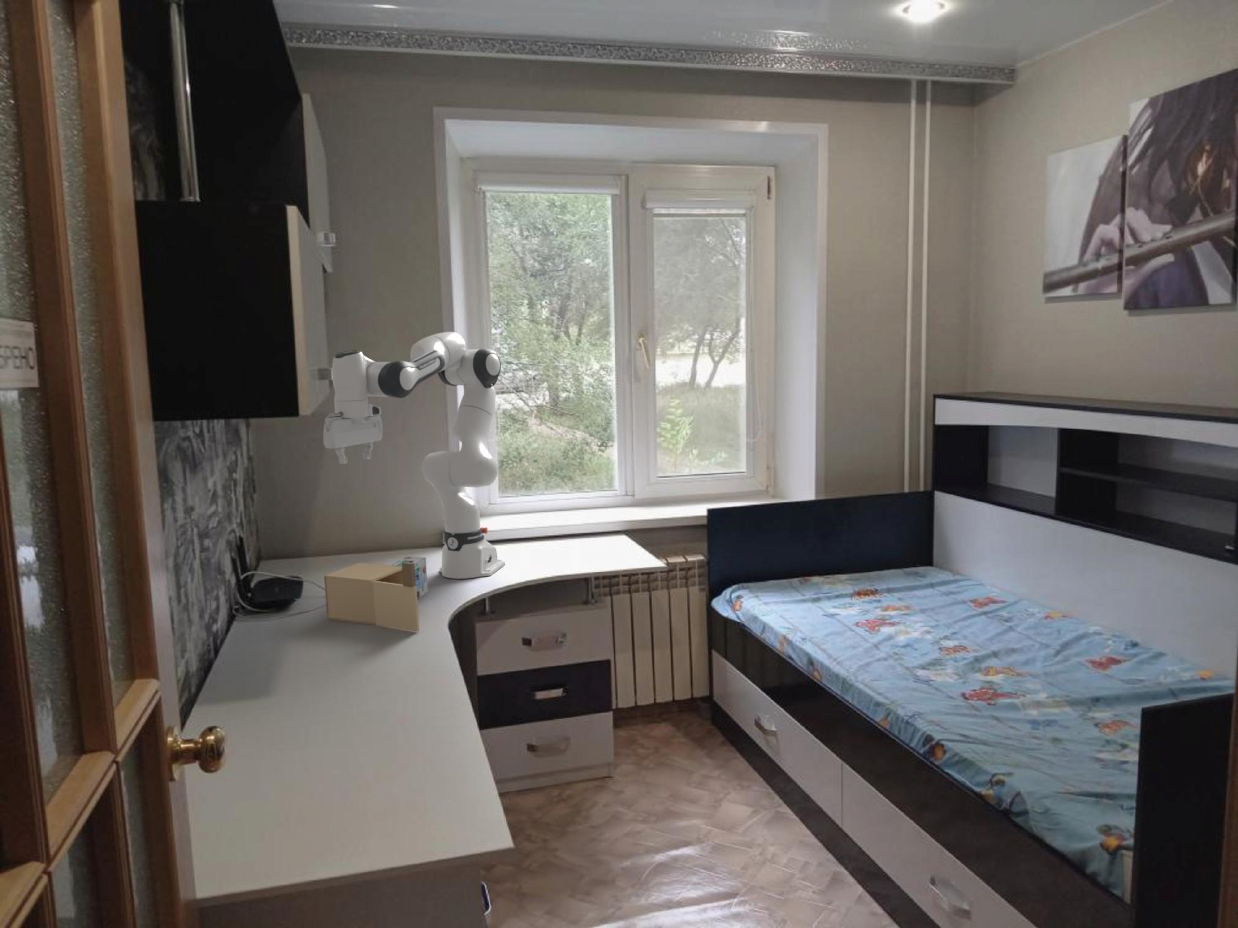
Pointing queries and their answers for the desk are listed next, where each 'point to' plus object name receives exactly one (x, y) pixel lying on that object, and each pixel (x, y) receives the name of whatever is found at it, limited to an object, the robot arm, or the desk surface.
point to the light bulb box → (417, 573)
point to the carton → (357, 591)
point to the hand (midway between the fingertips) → (355, 461)
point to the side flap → (397, 601)
